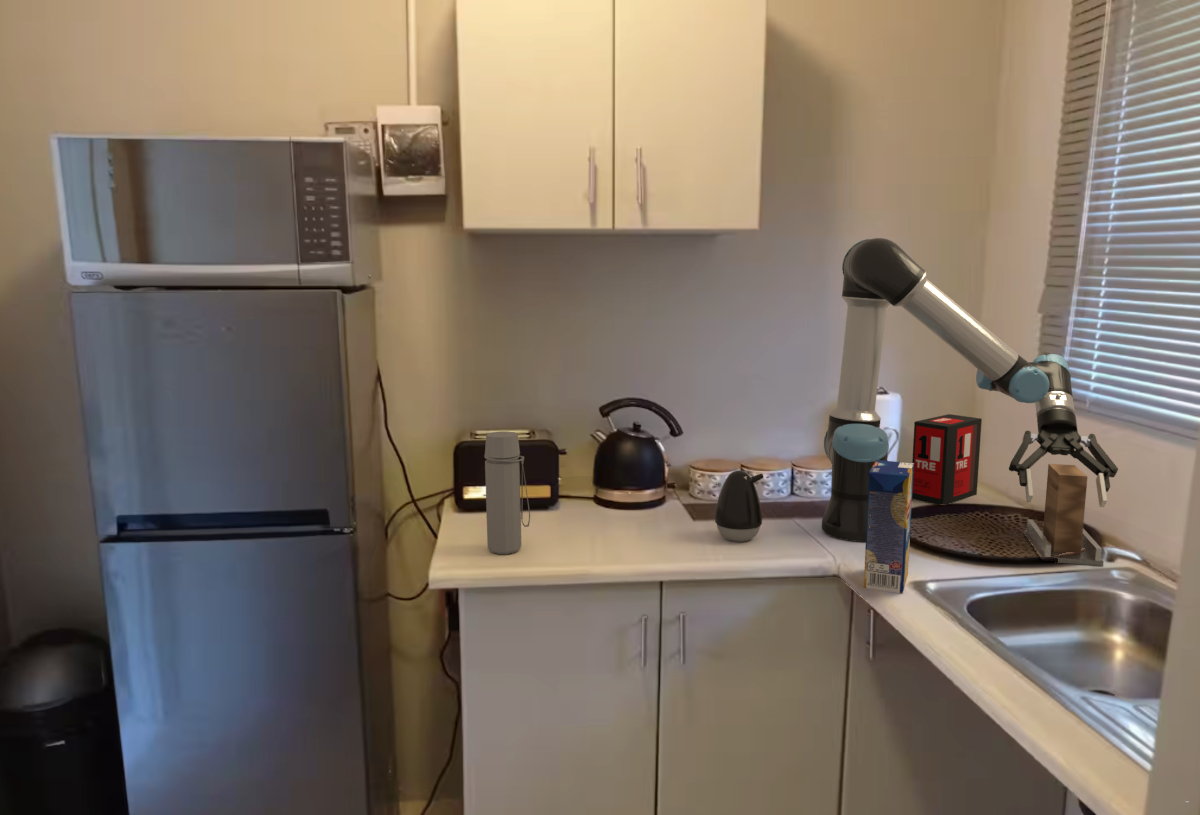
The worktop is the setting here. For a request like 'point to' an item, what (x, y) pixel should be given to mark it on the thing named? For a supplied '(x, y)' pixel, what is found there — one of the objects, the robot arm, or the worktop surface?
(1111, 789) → the worktop surface
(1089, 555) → the floor track
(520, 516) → the water bottle
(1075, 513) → the brown wooden block
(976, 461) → the cleaning product box
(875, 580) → the beverage box
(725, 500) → the pump dispenser
